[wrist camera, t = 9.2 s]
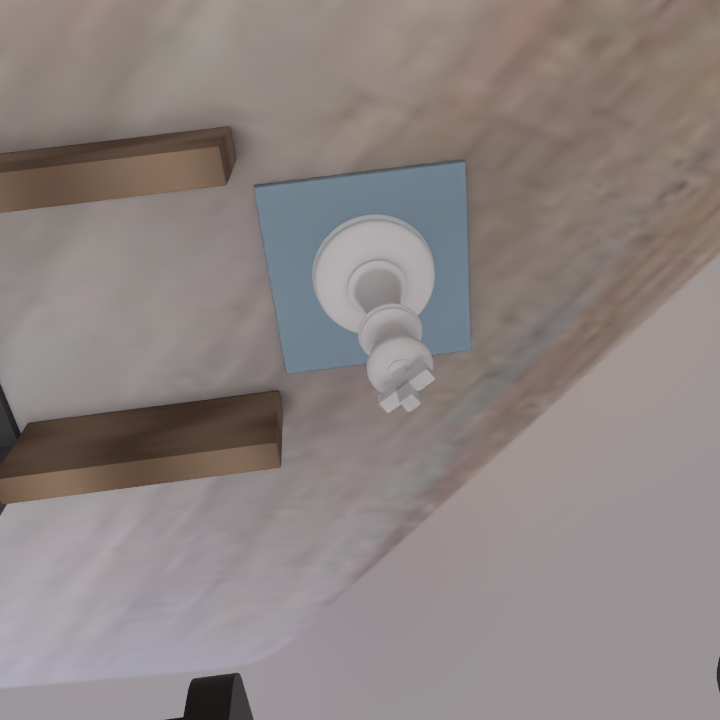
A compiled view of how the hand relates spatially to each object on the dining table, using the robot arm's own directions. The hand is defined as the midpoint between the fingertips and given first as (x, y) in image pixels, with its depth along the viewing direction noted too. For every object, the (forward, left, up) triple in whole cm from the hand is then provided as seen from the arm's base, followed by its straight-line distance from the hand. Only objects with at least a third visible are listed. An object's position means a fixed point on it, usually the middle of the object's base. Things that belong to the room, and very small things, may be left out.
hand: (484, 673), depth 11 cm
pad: (0, 0, -19) cm, 19 cm away
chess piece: (0, 0, -19) cm, 19 cm away
